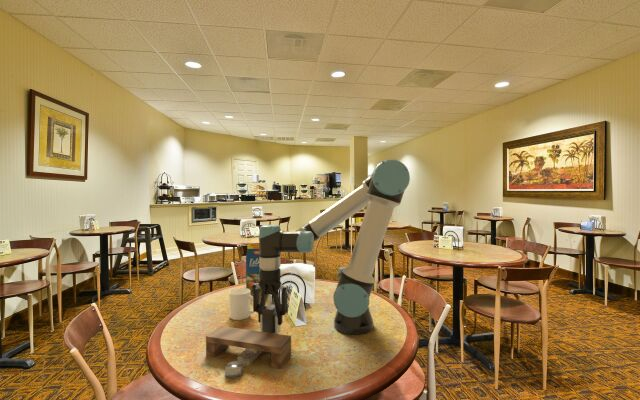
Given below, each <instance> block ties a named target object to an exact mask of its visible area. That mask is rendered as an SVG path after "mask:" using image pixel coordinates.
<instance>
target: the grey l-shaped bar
mask: <svg viewBox="0 0 640 400" xmlns="http://www.w3.org/2000/svg"><path fill="white" fill-rule="evenodd" d="M276 315H277V312H276V308H275V304H274V303H272V304H271V303H268V304H265V307H264V308H262V332H267V333H274V334H275V316H276ZM262 353H263V351H260V350H253V349H247V348H244V350H243V351H242V352H241V353H240V354H238V356H237V361H240V362H242V363H243V365H247V366H250V365H251V364H252V363H253V362H254V361H255V360H256V359H257V358H258V357H259V356H260V354H262Z"/></svg>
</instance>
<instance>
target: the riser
mask: <svg viewBox="0 0 640 400" xmlns="http://www.w3.org/2000/svg"><path fill="white" fill-rule="evenodd" d="M229 346H230V347H236V348H243V349H246V348H247V349H253V350H260V351H262V352H266V353H267V352H268V353H270V354H271V355H270V356H271V359H270V360H271V368H274V369H279V370H280V369H282V368H283V366H285V364H286V363H287V361H289V358H290V357H291V356H292V335H287V334H281V333H279V334H274V333H267V332H260V330H252V329H246V328H245V329H244V328H238V327H231V326H223V325H220V326H219V327H218V328H216V329H214V330H213V331H211V332H210V333H209V334H207V335H206V336H205V356H206V357H207V356H208V357H213V358H215V357H216V356H217V355H218V354H220V353H221V352H222V351H223V350H224V349H226V348H227V347H229Z"/></svg>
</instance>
